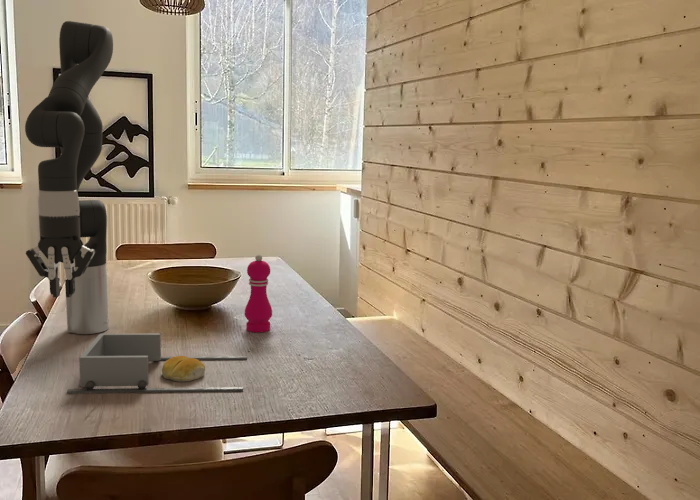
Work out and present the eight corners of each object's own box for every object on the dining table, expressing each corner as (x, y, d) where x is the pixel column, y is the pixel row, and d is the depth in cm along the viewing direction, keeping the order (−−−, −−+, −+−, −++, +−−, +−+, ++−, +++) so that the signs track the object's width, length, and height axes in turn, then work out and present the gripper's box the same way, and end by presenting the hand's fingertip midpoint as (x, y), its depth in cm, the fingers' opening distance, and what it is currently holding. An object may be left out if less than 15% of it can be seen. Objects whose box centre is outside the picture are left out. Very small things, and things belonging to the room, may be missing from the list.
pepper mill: (267, 334, 173) (267, 258, 170) (240, 331, 175) (240, 256, 171) (275, 326, 180) (276, 253, 177) (250, 324, 182) (250, 251, 178)
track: (67, 393, 131) (66, 391, 131) (94, 359, 151) (94, 357, 151) (243, 391, 135) (243, 388, 135) (247, 358, 155) (247, 356, 155)
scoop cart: (79, 390, 133) (77, 359, 131) (102, 359, 150) (101, 332, 149) (146, 389, 134) (146, 358, 133) (161, 359, 151) (161, 332, 150)
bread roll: (181, 366, 149) (181, 348, 148) (211, 374, 144) (211, 356, 144) (152, 376, 142) (152, 358, 141) (182, 386, 137) (182, 367, 137)
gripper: (16, 214, 130) (21, 301, 133) (89, 215, 132) (93, 301, 135) (29, 209, 138) (34, 292, 141) (99, 210, 139) (102, 292, 142)
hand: (63, 296), depth 138 cm, fingers closed
